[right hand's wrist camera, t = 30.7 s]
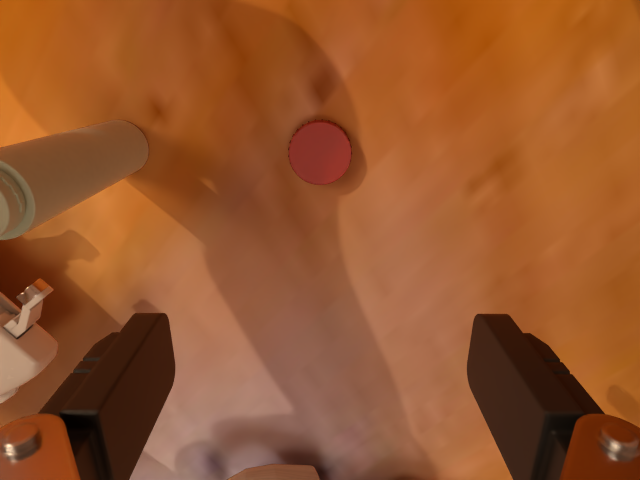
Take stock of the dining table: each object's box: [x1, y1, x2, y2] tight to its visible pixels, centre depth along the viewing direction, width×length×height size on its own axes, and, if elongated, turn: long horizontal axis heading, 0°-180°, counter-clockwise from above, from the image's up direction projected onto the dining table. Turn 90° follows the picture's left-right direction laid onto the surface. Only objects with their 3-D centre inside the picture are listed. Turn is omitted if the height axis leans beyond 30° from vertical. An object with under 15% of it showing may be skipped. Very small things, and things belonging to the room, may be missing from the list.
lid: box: [288, 119, 352, 185], centre depth 38 cm, size 6×6×2 cm
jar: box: [0, 120, 149, 240], centre depth 30 cm, size 5×5×18 cm
